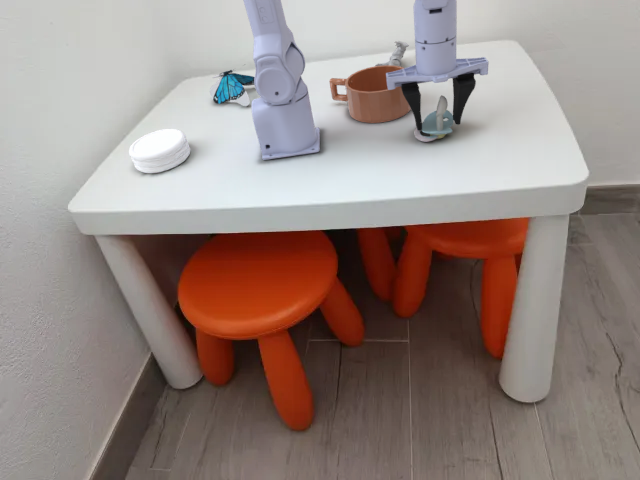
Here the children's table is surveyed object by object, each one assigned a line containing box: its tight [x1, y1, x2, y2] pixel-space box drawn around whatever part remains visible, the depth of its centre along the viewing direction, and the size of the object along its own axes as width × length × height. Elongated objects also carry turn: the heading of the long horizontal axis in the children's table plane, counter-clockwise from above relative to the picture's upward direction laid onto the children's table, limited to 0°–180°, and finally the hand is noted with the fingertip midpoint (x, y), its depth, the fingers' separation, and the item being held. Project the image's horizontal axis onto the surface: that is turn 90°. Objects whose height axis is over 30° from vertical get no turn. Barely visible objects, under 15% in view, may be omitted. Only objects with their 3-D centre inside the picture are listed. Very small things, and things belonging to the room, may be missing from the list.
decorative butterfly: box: [209, 63, 255, 107], centre depth 104 cm, size 10×6×10 cm
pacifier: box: [413, 95, 454, 143], centre depth 78 cm, size 7×6×6 cm
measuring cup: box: [329, 65, 412, 124], centre depth 90 cm, size 15×11×6 cm
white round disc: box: [128, 128, 191, 174], centre depth 88 cm, size 10×10×4 cm
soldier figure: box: [375, 40, 410, 67], centre depth 101 cm, size 8×5×12 cm
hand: (437, 124), depth 79 cm, fingers closed on pacifier, 5 cm apart
